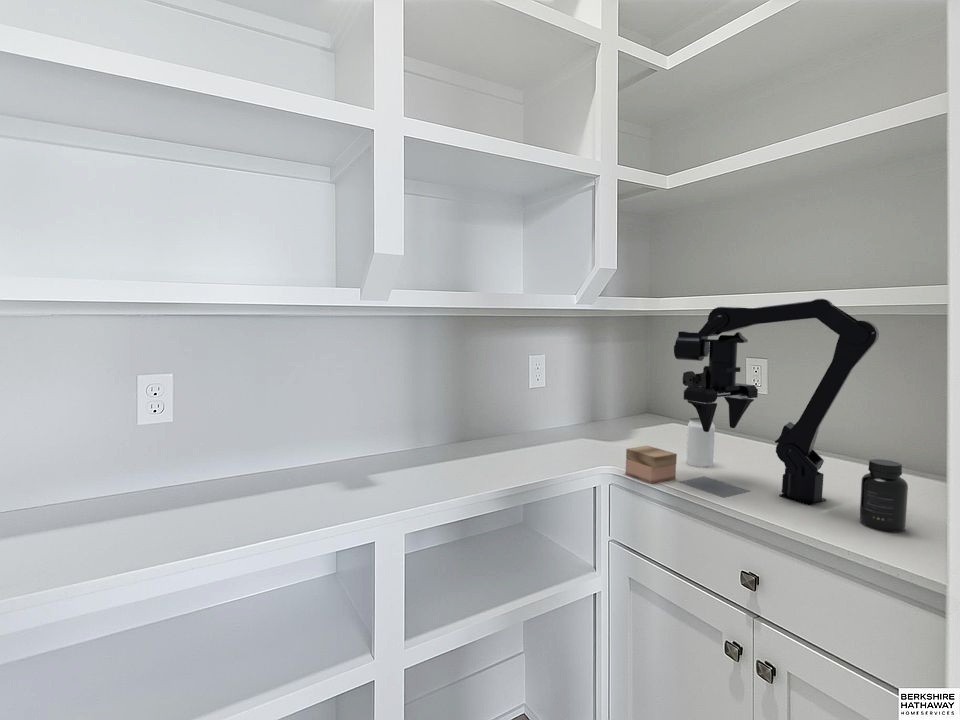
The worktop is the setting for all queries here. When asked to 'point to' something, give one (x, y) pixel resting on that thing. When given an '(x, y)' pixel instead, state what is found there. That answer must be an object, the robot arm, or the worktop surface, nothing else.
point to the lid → (651, 456)
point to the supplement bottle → (884, 496)
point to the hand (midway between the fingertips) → (719, 429)
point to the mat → (714, 486)
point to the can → (700, 444)
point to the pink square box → (650, 472)
